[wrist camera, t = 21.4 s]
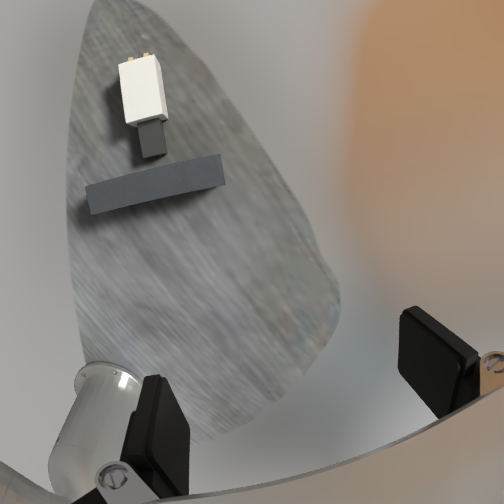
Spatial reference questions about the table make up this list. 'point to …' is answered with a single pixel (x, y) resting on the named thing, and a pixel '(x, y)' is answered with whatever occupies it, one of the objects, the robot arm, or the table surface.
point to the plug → (145, 102)
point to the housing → (155, 183)
